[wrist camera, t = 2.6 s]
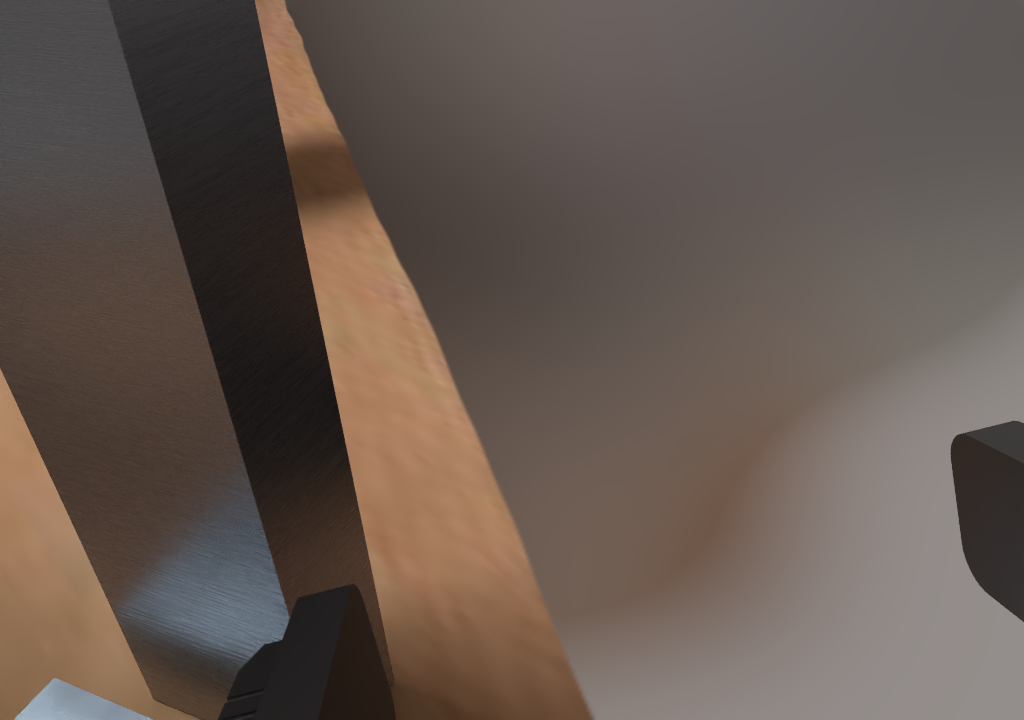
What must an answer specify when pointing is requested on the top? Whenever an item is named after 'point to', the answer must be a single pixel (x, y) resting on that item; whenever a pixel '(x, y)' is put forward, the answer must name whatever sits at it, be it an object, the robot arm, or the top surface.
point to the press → (169, 336)
